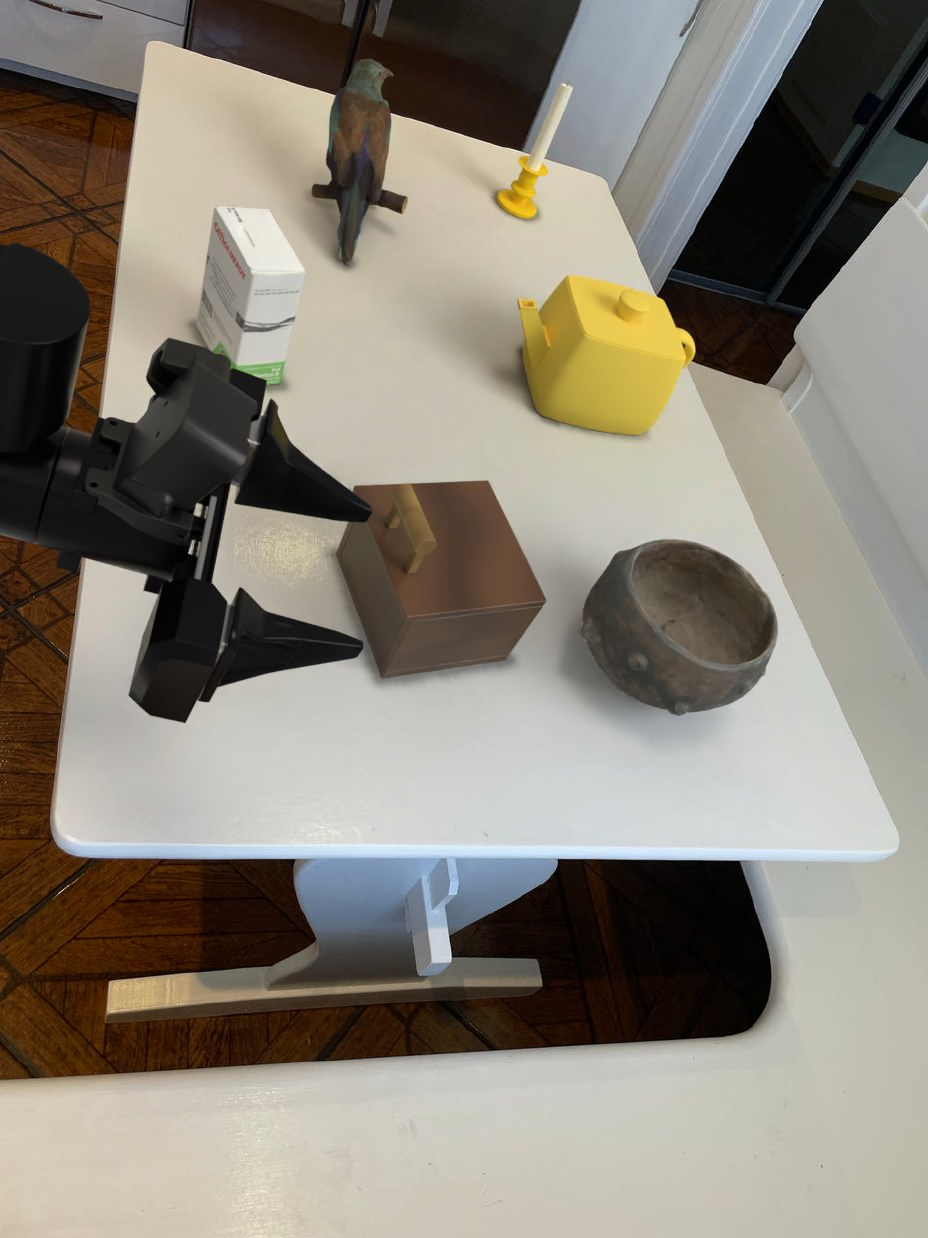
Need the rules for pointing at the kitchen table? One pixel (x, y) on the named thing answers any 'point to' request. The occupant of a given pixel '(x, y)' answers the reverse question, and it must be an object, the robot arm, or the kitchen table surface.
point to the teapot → (602, 355)
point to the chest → (421, 640)
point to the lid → (448, 549)
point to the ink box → (249, 291)
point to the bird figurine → (359, 153)
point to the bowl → (679, 626)
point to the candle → (534, 162)
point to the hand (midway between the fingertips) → (365, 578)
